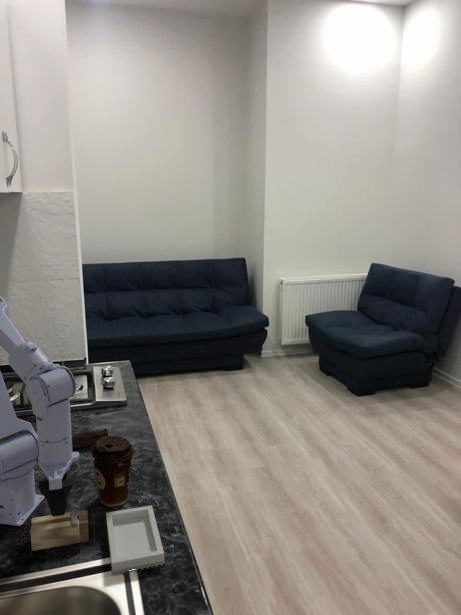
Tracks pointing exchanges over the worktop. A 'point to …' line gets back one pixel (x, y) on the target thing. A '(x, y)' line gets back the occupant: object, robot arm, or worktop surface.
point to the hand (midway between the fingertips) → (58, 501)
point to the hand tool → (88, 438)
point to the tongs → (59, 530)
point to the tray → (133, 539)
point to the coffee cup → (112, 469)
